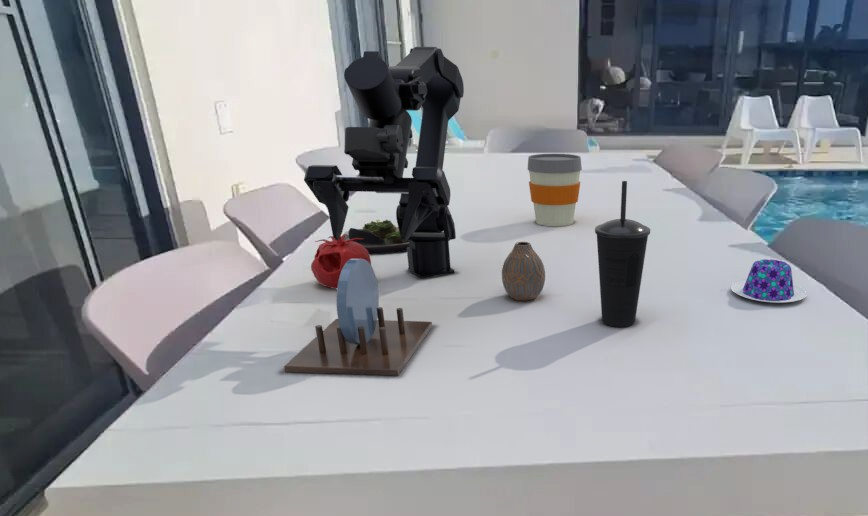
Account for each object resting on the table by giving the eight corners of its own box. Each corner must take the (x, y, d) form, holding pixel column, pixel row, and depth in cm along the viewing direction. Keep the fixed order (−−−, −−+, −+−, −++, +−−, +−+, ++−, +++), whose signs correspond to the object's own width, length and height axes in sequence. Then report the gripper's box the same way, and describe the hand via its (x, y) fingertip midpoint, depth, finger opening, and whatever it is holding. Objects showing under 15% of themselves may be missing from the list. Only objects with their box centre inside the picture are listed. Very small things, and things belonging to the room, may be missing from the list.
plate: (373, 327, 89) (364, 249, 85) (382, 328, 89) (373, 250, 85) (343, 357, 79) (331, 270, 75) (352, 357, 79) (341, 270, 75)
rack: (336, 323, 92) (332, 295, 90) (432, 326, 91) (429, 298, 89) (284, 372, 77) (278, 339, 76) (398, 375, 77) (394, 343, 75)
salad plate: (340, 233, 141) (337, 212, 139) (423, 229, 145) (421, 209, 143) (331, 256, 124) (327, 233, 122) (424, 251, 128) (422, 228, 126)
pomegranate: (357, 271, 115) (350, 219, 112) (385, 283, 109) (379, 229, 105) (303, 282, 109) (294, 228, 105) (330, 296, 103) (321, 239, 99)
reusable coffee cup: (523, 226, 148) (521, 159, 142) (534, 215, 159) (533, 152, 153) (576, 229, 146) (577, 161, 140) (584, 217, 157) (585, 154, 151)
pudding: (716, 294, 104) (719, 263, 102) (752, 278, 112) (755, 249, 110) (785, 312, 97) (790, 279, 95) (818, 294, 105) (823, 263, 103)
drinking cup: (649, 315, 96) (658, 178, 87) (638, 333, 89) (646, 187, 81) (600, 309, 98) (604, 175, 89) (585, 326, 91) (588, 184, 83)
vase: (552, 293, 105) (552, 240, 101) (533, 306, 99) (532, 251, 95) (515, 287, 107) (514, 236, 104) (494, 300, 101) (492, 246, 98)
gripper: (297, 101, 83) (272, 202, 78) (438, 102, 82) (423, 205, 77) (331, 156, 94) (310, 249, 88) (456, 158, 93) (443, 252, 87)
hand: (369, 239), depth 85 cm, fingers open, 9 cm apart
